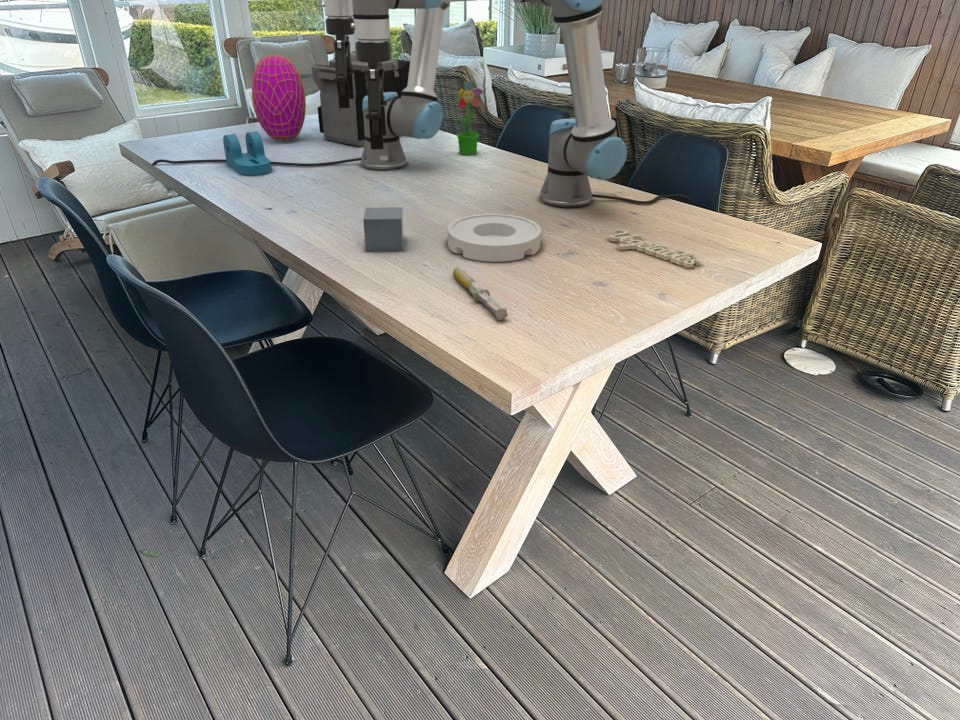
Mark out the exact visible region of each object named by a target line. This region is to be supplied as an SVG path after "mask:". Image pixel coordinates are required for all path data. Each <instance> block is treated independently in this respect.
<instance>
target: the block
mask: <svg viewBox="0 0 960 720" xmlns="http://www.w3.org/2000/svg"><path fill="white" fill-rule="evenodd" d="M403 209H404V208H403V206H385V207H384V206H381V207H380V206H377V207H375V206H373V207H365V209H364V214H363V219H362V222H363V235H364V247H365V248H364V249H365V252H367V253H368V252H403V251H404V243H405V231H404V210H403Z"/></svg>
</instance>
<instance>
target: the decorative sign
mask: <svg viewBox="0 0 960 720" xmlns="http://www.w3.org/2000/svg"><path fill="white" fill-rule="evenodd" d="M641 239H642V235H641V234H630V231H629V230H624V229H616V230H615V233H614V234H610V235H609V241H610V242H613V243H618V244H619V245H618V250H619V251H626V250H636V251H637V252H644V253H645V254H647V255H649V256H655V257H656V258H659V259H663V260H664V261H669V262H670V263H672V264H675V265H678V266H682V267H684V268H687V269H693V268H694V265H696V266H700V263H701V260H700V259H697V258H694V255H695V254H694V253H693V252H686V253H684V249H673V250H672V249H671V250H669V249H668V246H665V244H658V243H656V242H652V243H649V242H646V241H642V240H641Z"/></svg>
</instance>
